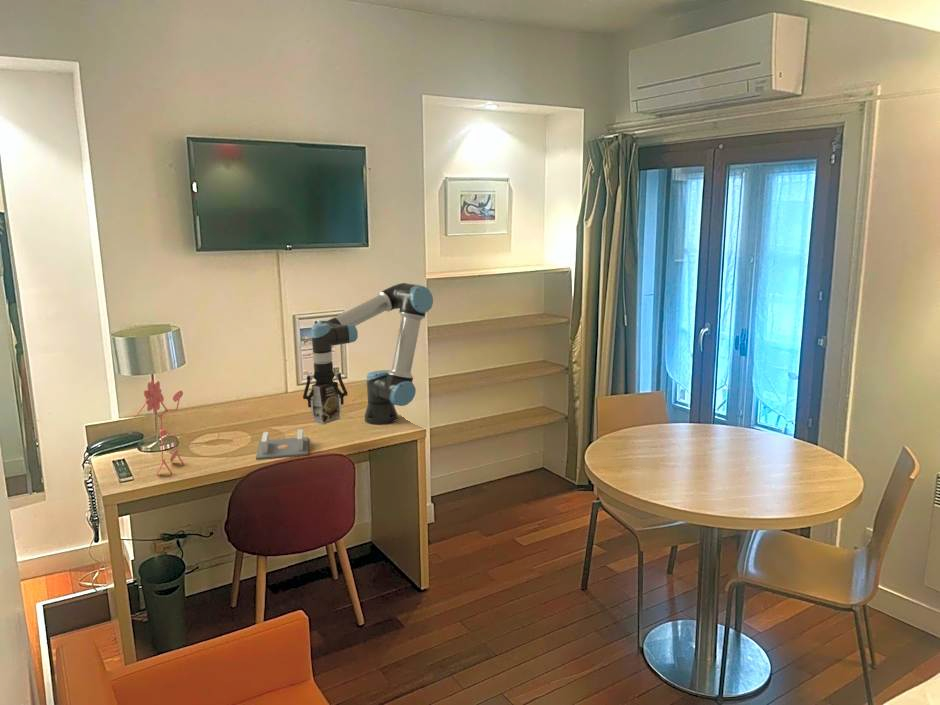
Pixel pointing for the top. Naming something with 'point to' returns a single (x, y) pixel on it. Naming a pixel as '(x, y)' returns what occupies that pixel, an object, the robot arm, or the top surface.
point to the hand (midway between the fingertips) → (326, 413)
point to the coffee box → (325, 403)
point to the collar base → (282, 446)
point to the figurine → (153, 402)
